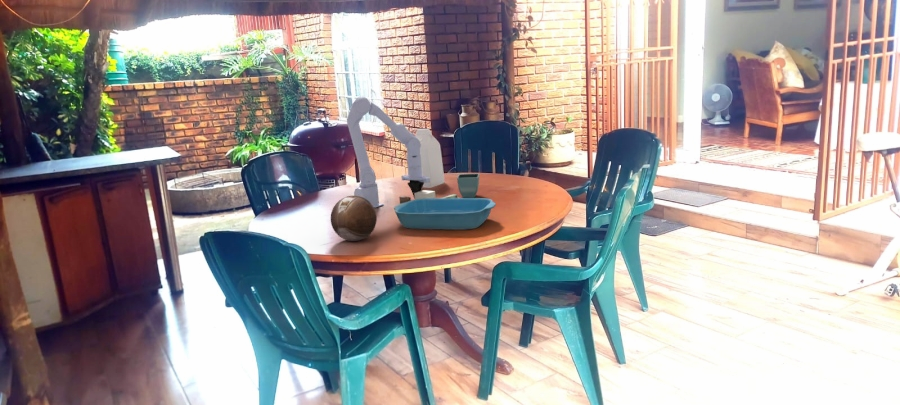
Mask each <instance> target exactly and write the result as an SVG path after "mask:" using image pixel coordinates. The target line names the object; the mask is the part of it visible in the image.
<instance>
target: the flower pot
mask: <svg viewBox="0 0 900 405" xmlns="http://www.w3.org/2000/svg"><path fill="white" fill-rule="evenodd" d="M456 179H457V187H458V192H459V194H460V197H461V198H476V196H477V193H478V192H479V191H478V190H479V186H480V173H461V174H460V173H459V174H458V175H457V177H456Z"/></svg>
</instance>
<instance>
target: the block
mask: <svg viewBox="0 0 900 405" xmlns="http://www.w3.org/2000/svg"><path fill="white" fill-rule="evenodd" d="M414 195H415V199H425V198H437V197H436V196H435V195H436V191H435V190H425V189H424V190H423V189H422V190H421V191H420V192H416V193H414ZM415 199H414V200H415Z"/></svg>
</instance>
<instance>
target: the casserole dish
mask: <svg viewBox="0 0 900 405" xmlns="http://www.w3.org/2000/svg"><path fill="white" fill-rule="evenodd" d="M496 205H497V204H496V202H494V201H493V199H491V198H487V197H486V198H482V197H481V198H480V197H474V198H463V197H460V198H442V197H436V198H425V199H411V201H408V202H405V203H401V204H400V203H399V204H396V205H395V206H394V207H393V209H394V212H395V214H396V218H397V219H398V221H399V223H400V224H401V225H402V227H404V228H407V229H414V230H447V231H449V230H457V231H458V230H460V231H461V230H462V231H463V230H472V229H477V228H479V227H480V226H481V225H482V224H484V223H485V221H486V220H488V218H489V217H490V214H491V211H492V209H493V208H495V207H496Z"/></svg>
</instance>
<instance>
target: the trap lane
mask: <svg viewBox="0 0 900 405" xmlns="http://www.w3.org/2000/svg"><path fill="white" fill-rule="evenodd" d="M436 195H437V194H435V196H436ZM398 198H399V204H401V203H405V202H408V201H411V200H412V199H411V196H405V195H401V196H399V197H398ZM441 198H461V196H460V197H459V196H458V194H455V193H453V194H447V195H446V196H443V197H441Z"/></svg>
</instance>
